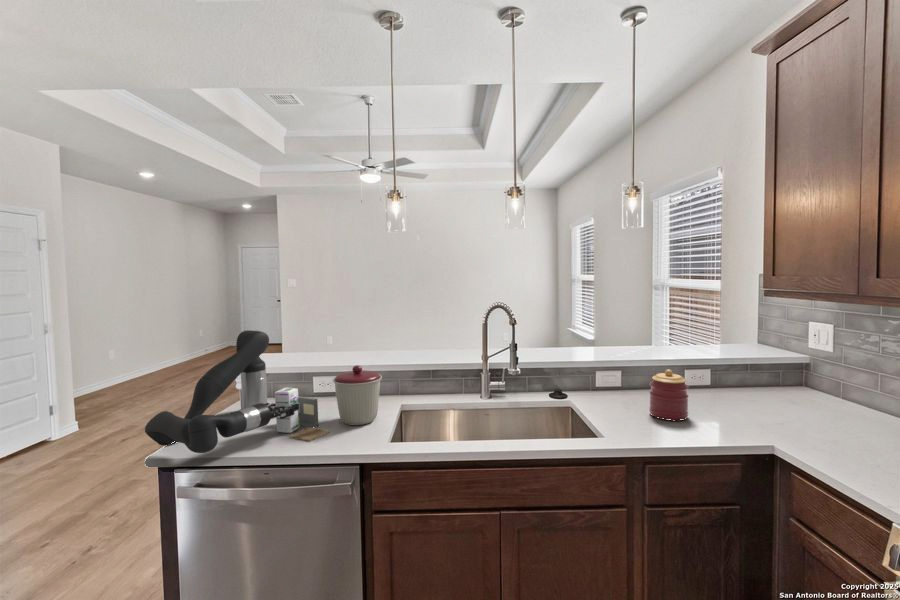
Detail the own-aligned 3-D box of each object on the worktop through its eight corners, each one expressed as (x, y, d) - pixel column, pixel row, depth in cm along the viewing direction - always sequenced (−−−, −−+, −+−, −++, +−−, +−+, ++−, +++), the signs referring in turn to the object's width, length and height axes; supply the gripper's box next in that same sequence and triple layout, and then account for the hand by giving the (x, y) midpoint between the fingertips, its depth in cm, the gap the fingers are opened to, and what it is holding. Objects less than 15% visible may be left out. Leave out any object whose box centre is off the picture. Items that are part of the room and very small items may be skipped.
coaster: (290, 437, 147) (290, 435, 147) (309, 428, 155) (309, 427, 155) (310, 441, 143) (310, 439, 143) (328, 432, 152) (328, 430, 152)
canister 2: (665, 408, 170) (665, 364, 169) (696, 418, 159) (696, 370, 158) (641, 413, 165) (641, 368, 164) (671, 424, 153) (672, 375, 152)
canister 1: (327, 429, 154) (325, 371, 153) (341, 413, 172) (340, 361, 171) (378, 429, 153) (376, 370, 152) (387, 413, 171) (385, 360, 170)
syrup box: (291, 433, 150) (289, 392, 149) (276, 432, 152) (274, 391, 151) (300, 427, 156) (298, 387, 155) (285, 426, 157) (283, 387, 156)
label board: (285, 424, 161) (284, 397, 160) (291, 421, 164) (290, 395, 163) (311, 428, 155) (310, 401, 155) (318, 425, 158) (317, 398, 158)
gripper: (236, 426, 143) (276, 413, 158) (267, 432, 137) (306, 418, 152) (235, 403, 143) (276, 392, 158) (267, 409, 136) (305, 397, 151)
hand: (290, 405), depth 155 cm, fingers closed on syrup box, 6 cm apart
